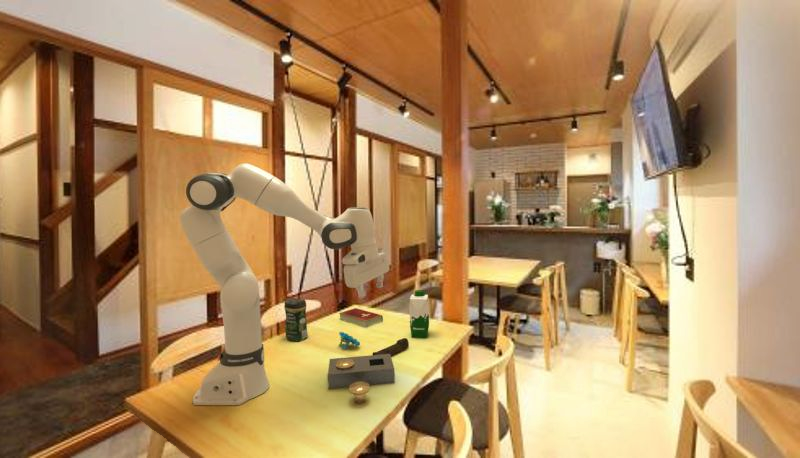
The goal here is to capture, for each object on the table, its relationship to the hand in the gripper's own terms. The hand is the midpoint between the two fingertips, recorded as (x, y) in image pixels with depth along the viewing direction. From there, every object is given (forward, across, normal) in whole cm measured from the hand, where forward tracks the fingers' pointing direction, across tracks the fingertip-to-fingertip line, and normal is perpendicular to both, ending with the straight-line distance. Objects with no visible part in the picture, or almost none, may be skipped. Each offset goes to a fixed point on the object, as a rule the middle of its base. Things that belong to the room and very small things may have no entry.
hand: (371, 291), depth 122 cm
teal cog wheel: (+30, -10, -27) cm, 42 cm away
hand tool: (+32, -14, -7) cm, 36 cm away
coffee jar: (+28, -5, -55) cm, 61 cm away
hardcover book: (+33, -39, -46) cm, 69 cm away
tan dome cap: (+28, +19, +5) cm, 34 cm away
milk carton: (+34, -37, -8) cm, 51 cm away
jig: (+29, +7, -5) cm, 30 cm away
